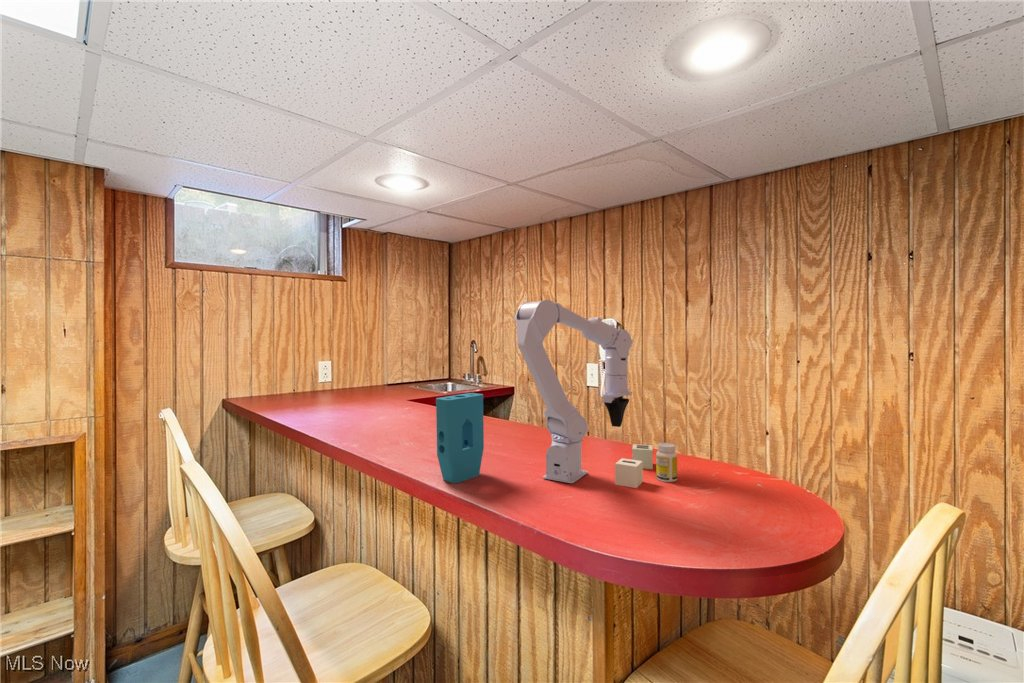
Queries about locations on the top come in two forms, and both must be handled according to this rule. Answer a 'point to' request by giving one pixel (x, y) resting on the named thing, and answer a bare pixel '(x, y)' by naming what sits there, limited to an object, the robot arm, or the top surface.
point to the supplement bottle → (666, 462)
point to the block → (460, 436)
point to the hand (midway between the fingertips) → (616, 426)
